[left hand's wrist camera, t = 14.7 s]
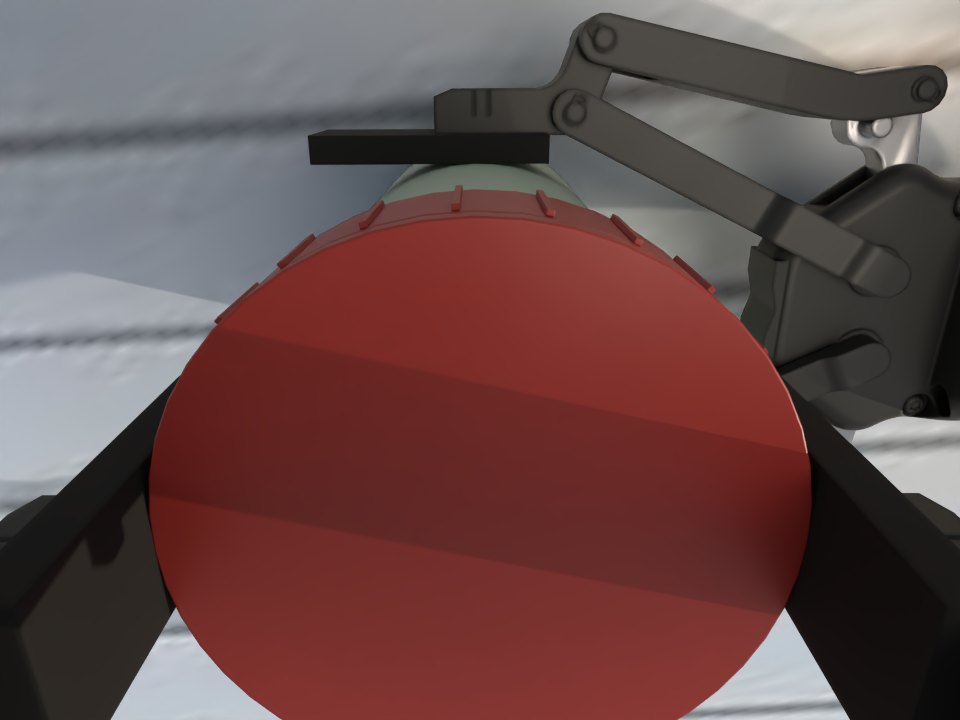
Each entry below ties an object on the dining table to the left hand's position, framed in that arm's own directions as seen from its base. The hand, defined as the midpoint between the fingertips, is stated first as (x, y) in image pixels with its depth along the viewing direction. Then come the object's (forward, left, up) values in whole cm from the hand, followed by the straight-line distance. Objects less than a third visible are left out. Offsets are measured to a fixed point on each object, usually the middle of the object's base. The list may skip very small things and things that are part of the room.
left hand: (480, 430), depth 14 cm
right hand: (+1, -5, -9) cm, 10 cm away
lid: (0, 0, +3) cm, 3 cm away
